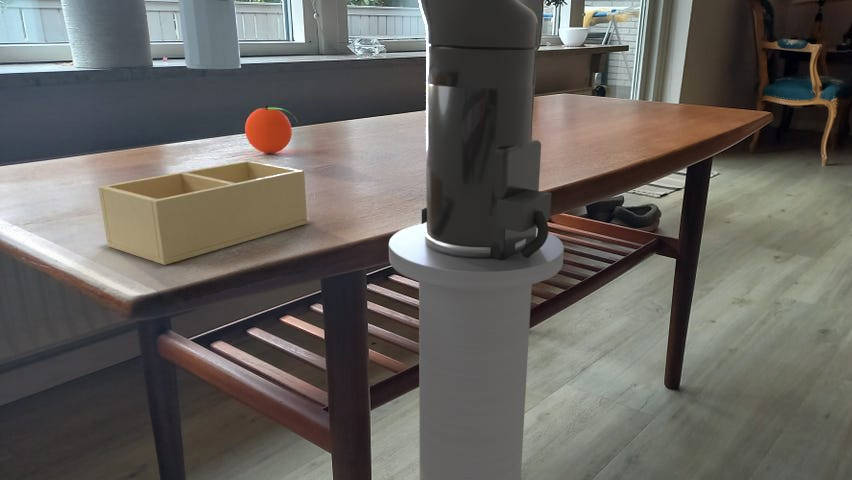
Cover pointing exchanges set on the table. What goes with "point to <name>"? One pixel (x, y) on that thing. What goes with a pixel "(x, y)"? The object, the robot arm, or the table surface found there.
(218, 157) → the table surface
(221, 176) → the holder
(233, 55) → the bottle
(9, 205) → the table surface
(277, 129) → the clementine
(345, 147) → the table surface
